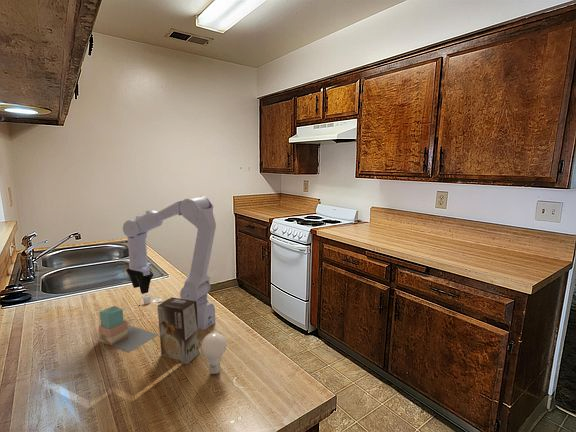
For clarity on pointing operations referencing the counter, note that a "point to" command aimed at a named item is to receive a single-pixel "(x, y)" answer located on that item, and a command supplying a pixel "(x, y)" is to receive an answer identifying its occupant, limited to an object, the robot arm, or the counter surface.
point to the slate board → (133, 339)
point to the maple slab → (113, 338)
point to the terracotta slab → (113, 330)
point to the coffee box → (178, 329)
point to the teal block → (111, 317)
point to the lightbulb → (213, 350)
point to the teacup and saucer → (149, 299)
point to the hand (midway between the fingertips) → (140, 290)
